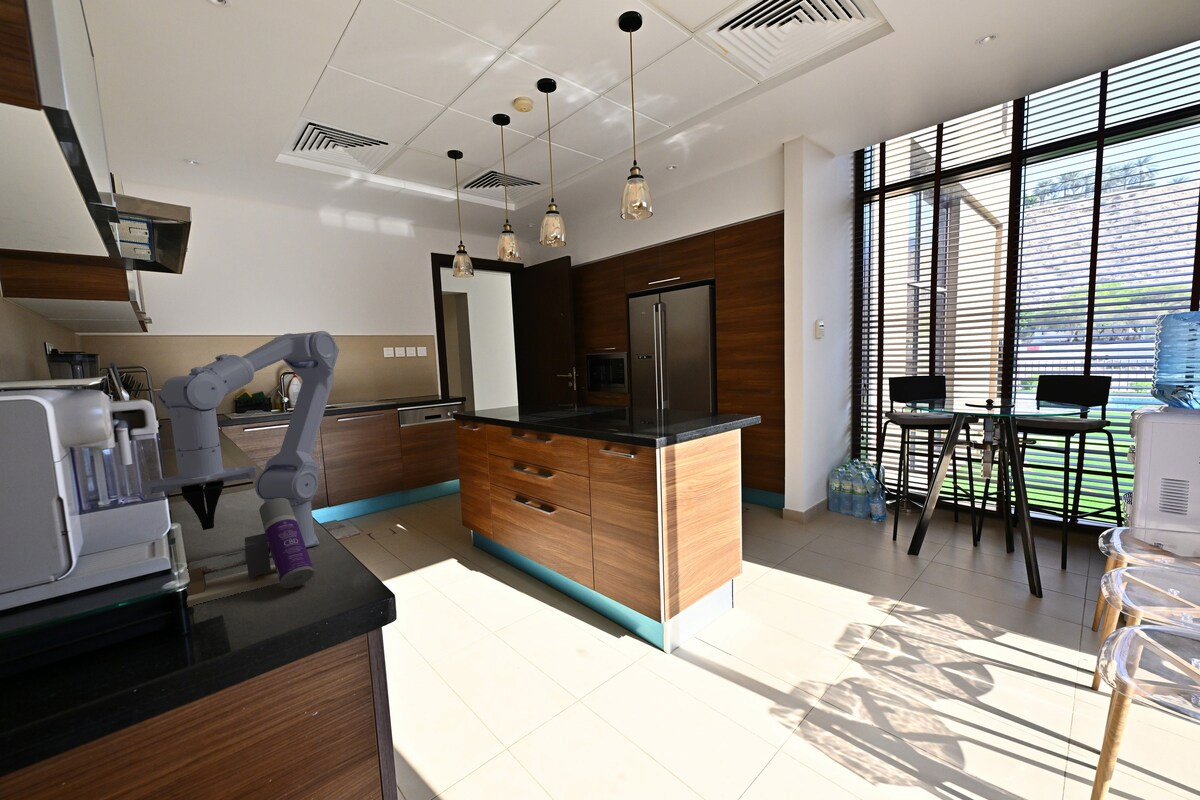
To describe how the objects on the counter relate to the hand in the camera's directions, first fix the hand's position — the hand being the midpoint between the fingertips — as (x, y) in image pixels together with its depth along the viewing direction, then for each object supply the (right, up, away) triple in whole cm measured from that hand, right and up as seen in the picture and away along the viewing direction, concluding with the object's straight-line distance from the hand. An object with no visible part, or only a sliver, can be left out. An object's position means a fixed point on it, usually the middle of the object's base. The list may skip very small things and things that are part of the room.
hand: (208, 527), depth 80 cm
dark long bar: (+7, -6, -1) cm, 9 cm away
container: (+18, -7, -4) cm, 19 cm away
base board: (+7, -9, -1) cm, 11 cm away
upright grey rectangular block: (+8, -7, 0) cm, 11 cm away
